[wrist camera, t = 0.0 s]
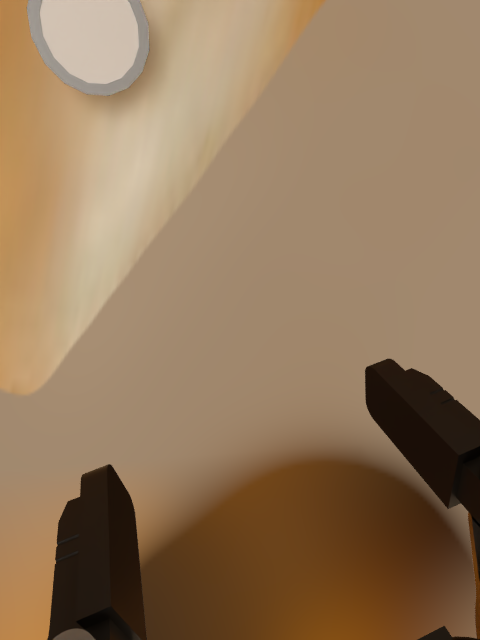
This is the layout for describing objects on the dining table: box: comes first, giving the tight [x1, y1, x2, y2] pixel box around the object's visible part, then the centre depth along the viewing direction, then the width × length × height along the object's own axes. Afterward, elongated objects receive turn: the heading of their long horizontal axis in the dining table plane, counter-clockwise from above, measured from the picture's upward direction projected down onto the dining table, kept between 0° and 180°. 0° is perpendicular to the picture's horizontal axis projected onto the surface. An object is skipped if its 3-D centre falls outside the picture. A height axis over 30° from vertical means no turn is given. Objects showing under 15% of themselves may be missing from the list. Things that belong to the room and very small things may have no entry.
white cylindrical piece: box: [27, 0, 149, 96], centre depth 26 cm, size 7×7×7 cm
